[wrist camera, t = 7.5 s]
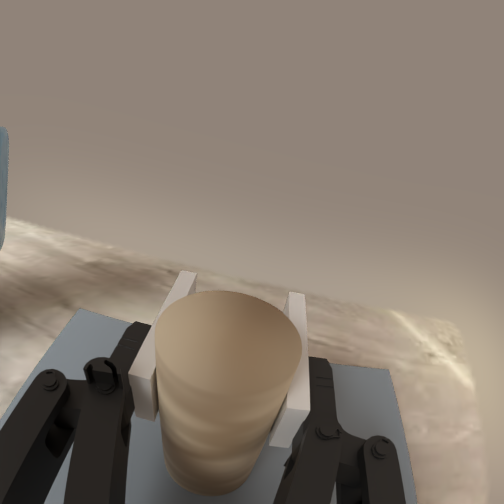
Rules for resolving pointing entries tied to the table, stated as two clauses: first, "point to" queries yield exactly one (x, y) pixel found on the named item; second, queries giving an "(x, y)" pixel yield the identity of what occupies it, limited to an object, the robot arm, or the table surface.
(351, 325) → the table surface
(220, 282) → the table surface
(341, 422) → the lid
